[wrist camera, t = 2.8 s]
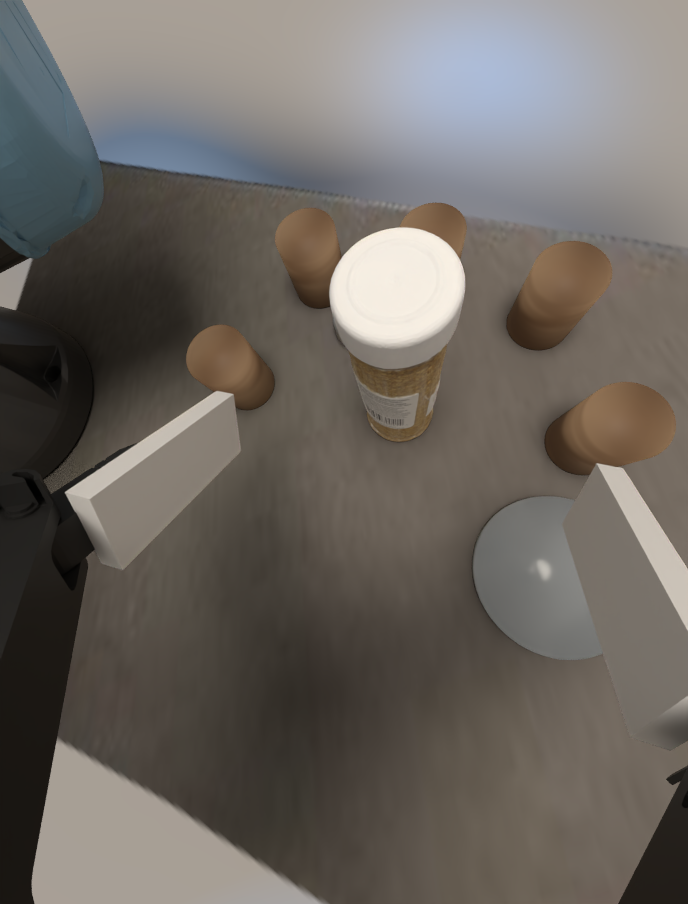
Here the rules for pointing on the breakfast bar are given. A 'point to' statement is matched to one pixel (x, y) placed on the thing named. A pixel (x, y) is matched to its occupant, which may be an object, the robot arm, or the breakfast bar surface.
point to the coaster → (534, 580)
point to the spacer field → (529, 324)
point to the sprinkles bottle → (398, 323)
